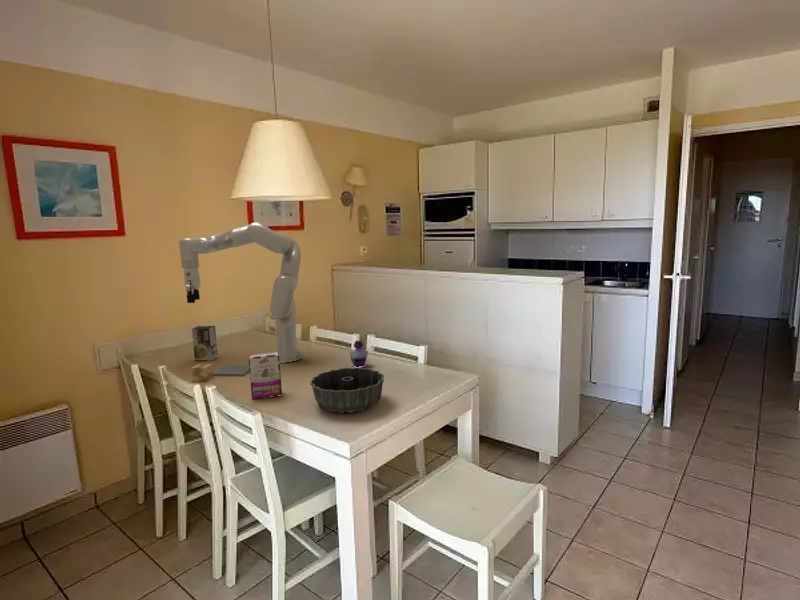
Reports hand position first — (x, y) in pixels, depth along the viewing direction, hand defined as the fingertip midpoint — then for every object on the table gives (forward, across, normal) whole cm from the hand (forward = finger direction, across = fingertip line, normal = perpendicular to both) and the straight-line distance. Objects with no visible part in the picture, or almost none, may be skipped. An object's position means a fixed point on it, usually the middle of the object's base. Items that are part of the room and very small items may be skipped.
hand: (193, 301), depth 220 cm
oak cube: (+30, -27, -7) cm, 41 cm away
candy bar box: (+30, -54, -35) cm, 71 cm away
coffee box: (+30, +6, -2) cm, 31 cm away
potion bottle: (+30, -26, -74) cm, 84 cm away
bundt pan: (+31, -70, -65) cm, 100 cm away
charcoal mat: (+30, -19, -18) cm, 40 cm away
